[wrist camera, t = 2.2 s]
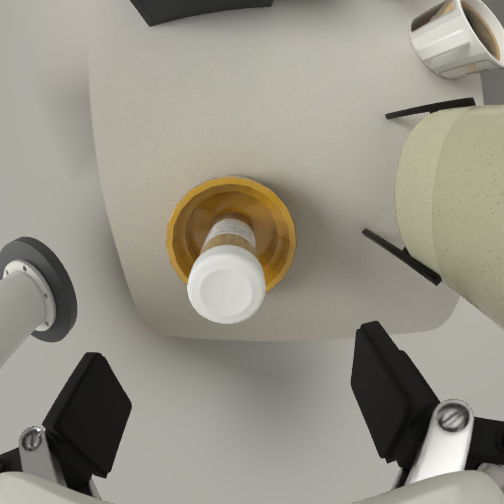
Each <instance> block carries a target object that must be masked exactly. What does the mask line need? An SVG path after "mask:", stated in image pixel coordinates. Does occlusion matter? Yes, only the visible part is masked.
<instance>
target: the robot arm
mask: <svg viewBox="0 0 504 504" xmlns="http://www.w3.org/2000/svg"><path fill="white" fill-rule="evenodd" d="M55 318H56V305H55V301H54V297H53V295H52V292H51V290H50V287H49V285H48V283H47V282H46V280H45V279H44V277H43V276H42V274H41V273H40V272H39V271H38V270H37V269H36V268H35V267H34V266H33V265H32V264H30V263H29V262H27V261H25V260H21V259H16V260H14V261H12V262H10V263H9V264H8V265H7V266H6V268H5V270H4V274H3V279H2V280H0V368H1V367H2V366H3V365H4V364H5V362H6V361H7V360H8V359H9V358H10V357H11V355H12V354H13V353H14V352H15V351H16V349H18V347H19V346H20V345H21V344H22V343H23V342H24V341H25V340H26V339H27V338H28V336H29V335H30V334H31V333H32V332H33V331H34V330H37V331H46V330H47V329H49V328H50V327H51V326H52V325H53V323H54V321H55ZM351 387H352V390H353V393H354V395H355V398H356V400H357V402H358V405H359V407H360V409H361V412H362V414H363V416H364V419H365V421H366V424H367V426H368V429H369V431H370V434H371V436H372V439H373V441H374V444H375V446H376V449H377V451H378V454H379V456H380V458H385V459H386V461H387V463H390V462H393V461H396V460H397V463H398V465H399V467H401V469H400V471H399V473H398V475H397V477H396V480H395V482H394V484H393V486H392V488H391V490H390V491H388V492H385V493H382V494H379V495H377V496H373V497H370V498H367V499H364V500H360V501H357V502H353V503H349V504H504V421H497V420H490V419H484V418H479V417H474V414H473V411H472V408H471V407H470V406H469V405H468V404H467V403H466V402H464V401H462V400H459V399H448V400H445V401H443V402H440V401H439V400H438V398H437V396H436V395H435V394H434V392H433V391H432V389H431V388H430V386H429V385H428V384H427V382H426V380H425V379H424V377H423V376H422V375H421V373H420V372H419V370H418V369H417V368H416V366H415V365H414V363H413V362H412V361H411V359H410V358H409V356H408V355H407V354H406V353H405V352H404V351H402V350H399V349H398V348H397V346H396V345H395V344H394V342H393V341H392V339H391V338H390V337H389V335H388V334H387V333H386V331H385V330H384V329H383V327H382V326H381V324H380V323H379V322H378V321H373V322H369V323H365V324H362V325H361V327H360V329H357V331H356V340H355V349H354V359H353V367H352V376H351ZM131 409H132V404H131V401H130V399H129V398H128V396H127V395H126V393H125V392H124V390H123V388H122V386H121V385H120V383H119V381H118V380H117V378H116V376H115V374H114V373H113V371H112V369H111V367H110V365H109V364H108V362H107V360H106V358H105V357H103V356H102V355H101V354H100V353H94V352H87V353H86V354H85V355H84V356H83V358H82V359H81V361H80V362H79V364H78V365H77V367H76V368H75V370H74V372H73V373H72V374H71V376H70V378H69V379H68V381H67V383H66V384H65V386H64V387H63V389H62V390H61V392H60V394H59V395H58V397H57V399H56V400H55V402H54V404H53V405H52V407H51V409H50V411H49V412H48V414H47V416H46V418H45V420H44V421H43V423H42V425H43V426H44V427H45V428H46V430H45V432H44V431H43V430H42V429H41V428H40V427H37V426H32V427H29V428H27V429H26V430H25V431H24V432H23V433H22V434H21V436H20V439H19V447H18V448H16V449H13V450H11V451H9V452H6V453H4V454H1V455H0V504H114V503H110V502H107V501H103V500H102V499H101V497H100V495H99V493H98V491H97V489H96V487H95V484H94V482H93V480H92V478H91V477H92V474H94V475H95V476H98V477H102V478H106V477H107V474H108V473H109V472H110V471H111V469H112V465H113V463H114V459H115V456H116V453H117V450H118V447H119V443H120V441H121V438H122V434H123V431H124V429H125V426H126V423H127V420H128V418H129V414H130V411H131Z"/></svg>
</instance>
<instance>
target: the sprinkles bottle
mask: <svg viewBox="0 0 504 504" xmlns="http://www.w3.org/2000/svg"><path fill="white" fill-rule="evenodd" d="M187 290H188V296H189V299H190V302H191V304H192V305H193V307H194V308H195V309H196V311H197V312H198V313H199V314H200V315H202V316H203V317H205V318H206V319H208V320H210V321H213V322H216V323H221V324H234V323H239V322H242V321H244V320H246V319H248V318H250V317H251V316H253V315H254V314H255V313H256V312H257V311H258V310H259V308H260V307H261V305H262V303H263V301H264V298H265V293H266V284H265V278H264V273H263V269H262V267H261V265H260V263H259V261H258V255H257V246H256V241H255V237H254V230H253V226H252V224H251V222H250V221H249V220H248V219H247V217H246V216H244V215H242V214H240V213H236V212H227V213H224V214H222V215H220V216H218V217H217V218H216V219H215V220H214V222H213V224H212V225H211V228H210V232H209V234H208V236H207V238H206V241H205V243H204V245H203V248H202V250H201V253H200V256H199V257H198V258H197V260H196V261H195V263H194V265H193V267H192V270H191V272H190V275H189V279H188V285H187Z"/></svg>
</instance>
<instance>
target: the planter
mask: <svg viewBox="0 0 504 504" xmlns="http://www.w3.org/2000/svg"><path fill="white" fill-rule="evenodd" d="M475 105H476V104H475V101H474V99H473V97H471V98H464V99H457V100H451V101H445V102H439V103H434V104H429V105H424V106H419V107H414V108H410V109H405V110H401V111H397V112H393V113H389V114H385V115H386V118H387V119H392V118H397V117H402V116H407V115H413V114H418V113H424V112H430V114H429V115H428V116H426V117H425V118H423V119H422V120H421V121H420V122H419V123H418V124H417V125H416V126H415V127H414V129H413V130H412V132H411V133H410V135H409V136H408V138H407V140H406V142H405V145H404V147H403V150H402V153H401V156H400V159H399V163H398V168H397V174H396V182H395V209H396V217H397V222H398V227H399V231H400V234H401V237H402V240H403V242H404V244H405V247H404V249H403V250H400V249H399V248H397V247H395V246H394V245H392V244H391V243H389V242H387V241H386V240H384V239H383V238H381V237H379V236H378V235H376V234H374V233H373V232H371V231H369V230H368V229H366V228H365V229H364V230H363V231H362V233H363V234H364V235H365V236H366V237H368V238H369V239H371V240H372V241H374V242H375V243H377V244H378V245H380V246H381V247H383V248H384V249H386V250H387V251H389V252H390V253H391V254H393V255H394V256H396V257H397V258H399V259H400V260H402V261H403V262H404V263H406V264H407V265H409V266H410V267H411V268H413V269H414V270H416V271H417V272H418V273H420V274H421V275H422V276H424V277H425V278H426V279H428V280H429V281H430V282H432V283H433V284H434V285H436V286H437V285H438V284H439V283H440V282H441V281H442V282H443V283H445V284H446V285H447V286H449V287H450V288H452V289H453V290H454V291H456V292H457V293H458V294H460V295H461V296H462V297H464V298H465V299H466V300H467V301H469V302H470V303H471V304H473V305H474V306H475V307H477V308H478V309H479V310H480V311H482V312H483V313H484V314H485V315H486V316H488V317H489V318H490V319H491V320H493V321H494V322H495V323H496V324H497V325H498V326H500V327H501V328H502V329H503V330H504V104H500V105H484V106H475ZM467 106H473V107H467ZM458 107H464V108H458ZM450 108H455V109H450ZM443 109H448V110H443ZM438 110H441V111H438Z"/></svg>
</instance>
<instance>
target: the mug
mask: <svg viewBox="0 0 504 504" xmlns="http://www.w3.org/2000/svg"><path fill="white" fill-rule="evenodd" d="M409 36H410V40H411V42H412V45H413V47H414V49H415V51H416V54H417V55H418V57H419V58H420V60H421V61H423V62H424V63H425V65H426V66H427V67H428V68H429V69H431V70H432V71H433V72H434V73H436V74H437V75H439V76H441V77H443V78H446V79H454V78H458V77H462V76H467V75H471V74H476V73H481V72H486V71H490V70H497V69H503V68H504V29H503V27H502V26H501V24H500V22H499V21H498V19H497V18H496V17H495V15H494V14H493V13H492V12H491V10H490V9H489V8H488V7H487V6H486V5H485V4H484V3H483V2H482V1H481V0H445V1H443V2H441V3H440V4H438V5H436V6H434V7H433V8H431V9H429V10H428V11H426V12H424V13H423V14H421V15H420V16H418V17H417V18H415V19H413V20H412V21H411V23H410V26H409Z"/></svg>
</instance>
